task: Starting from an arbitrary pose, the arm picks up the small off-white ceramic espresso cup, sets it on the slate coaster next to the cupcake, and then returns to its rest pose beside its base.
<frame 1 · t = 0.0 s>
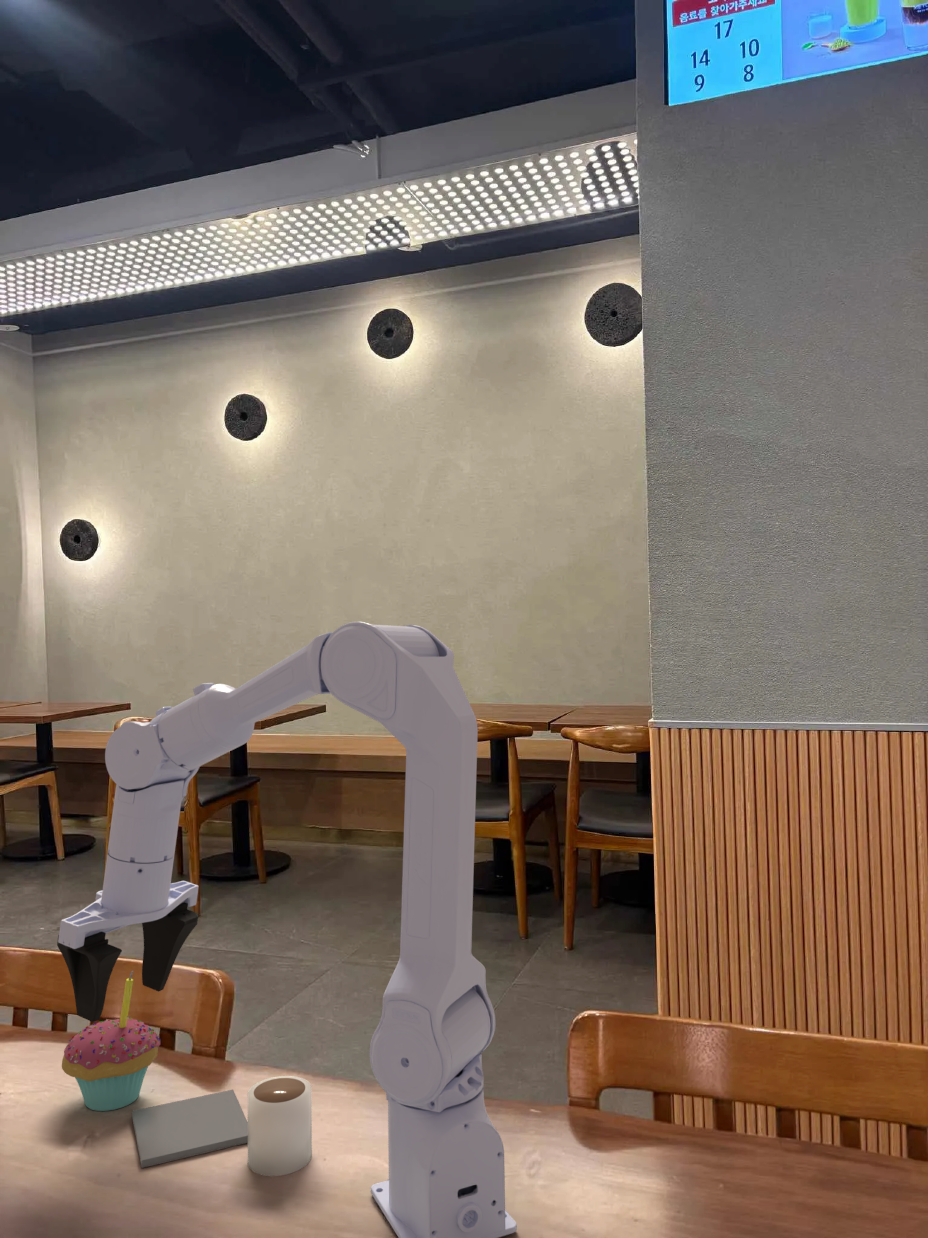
hand: (121, 1001, 81), 11 cm above the table, tool pointing down, fingers open, 7 cm apart
cupcake: (110, 1102, 84), on the table
cup: (280, 1158, 74), on the table
coaster: (190, 1129, 79), on the table
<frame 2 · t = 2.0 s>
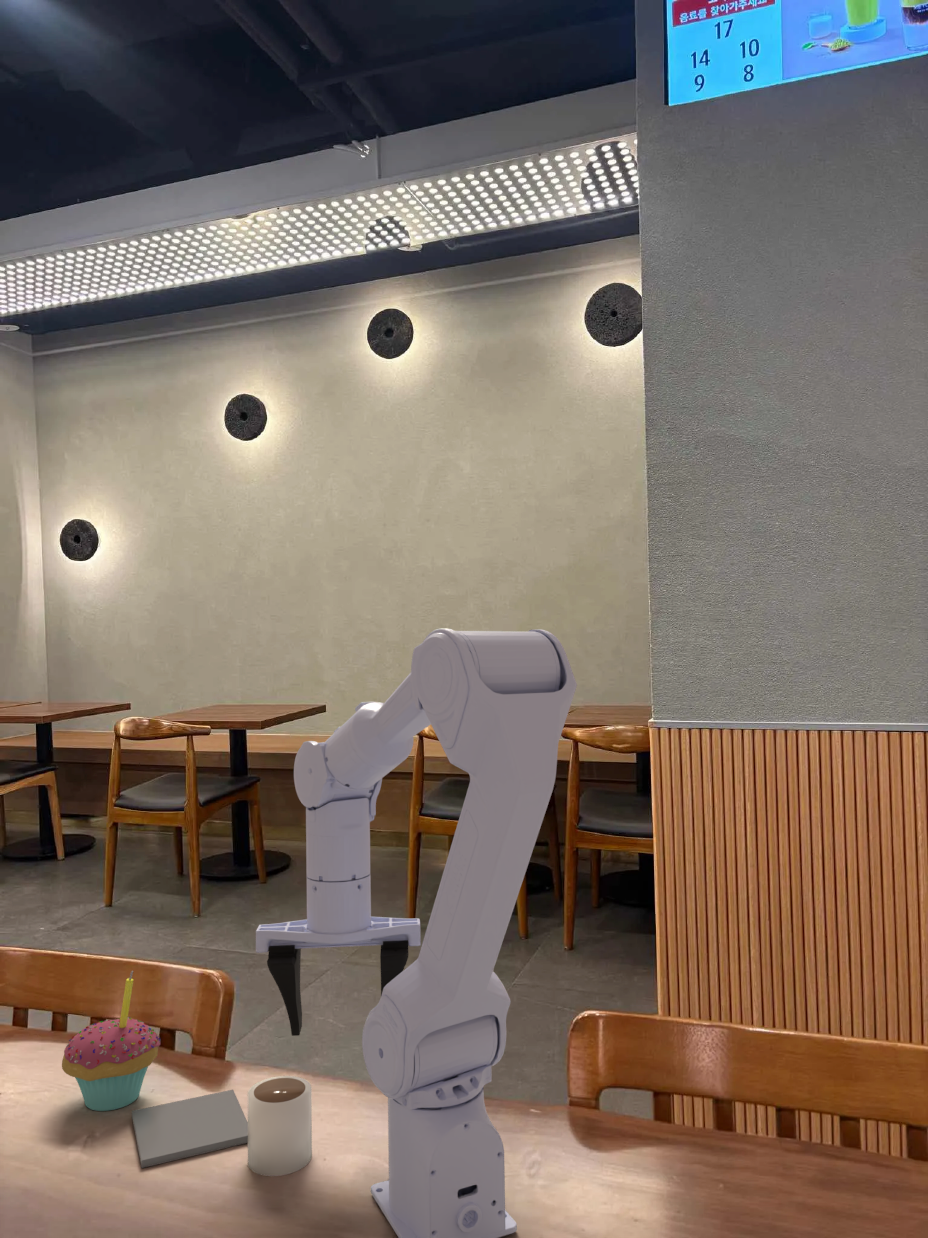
hand: (340, 1029, 80), 8 cm above the table, tool pointing down, fingers open, 7 cm apart
nothing on the table moved.
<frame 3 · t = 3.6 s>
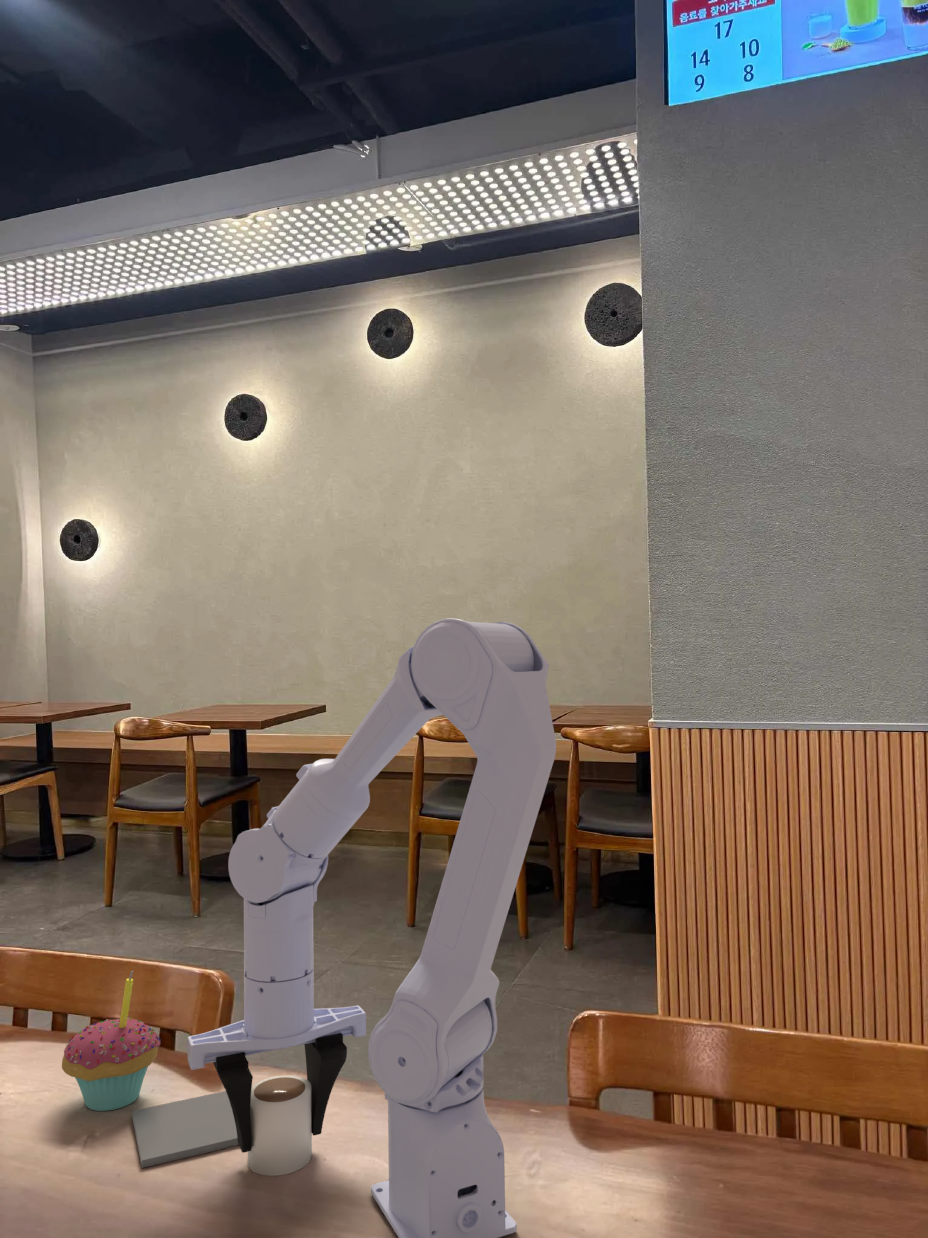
hand: (279, 1137, 74), 2 cm above the table, tool pointing down, fingers closed on cup, 5 cm apart
cup: (280, 1158, 74), on the table, touching gripper
everything else where it was.
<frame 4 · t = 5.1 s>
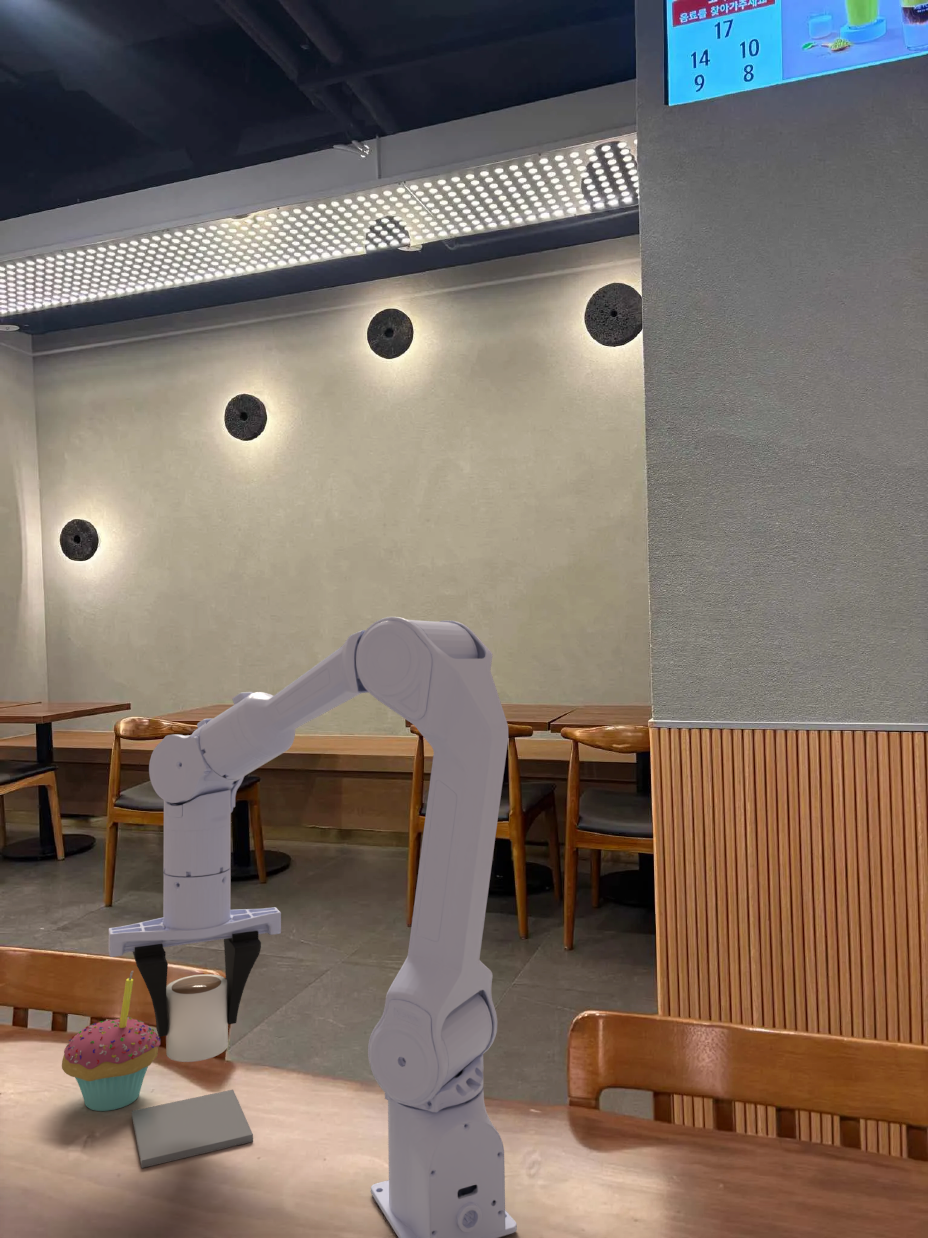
hand: (196, 1026, 79), 9 cm above the table, tool pointing down, fingers closed on cup, 5 cm apart
cup: (197, 1048, 79), point 7 cm above the table, touching gripper
everything else where it was.
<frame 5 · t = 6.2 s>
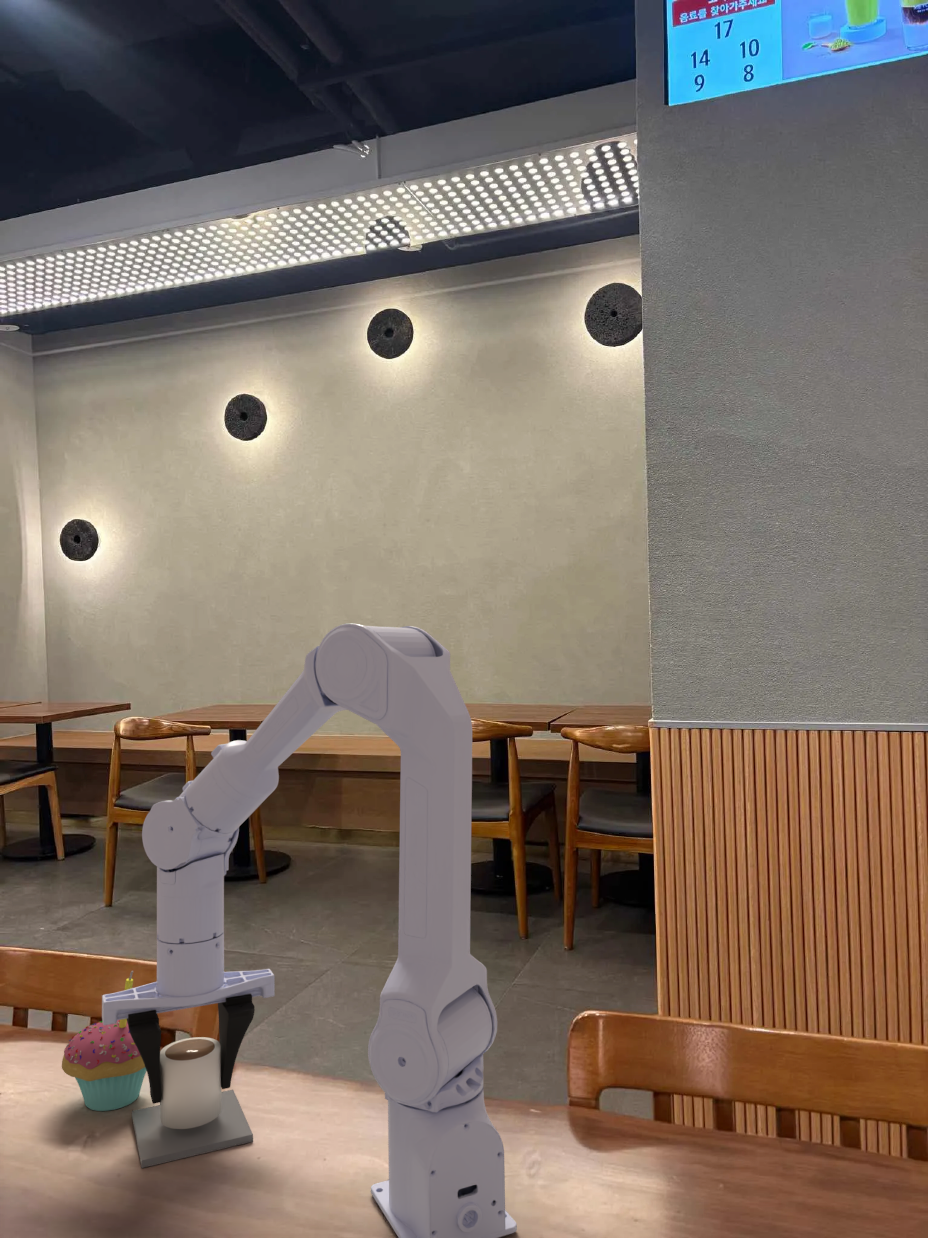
hand: (190, 1091, 79), 3 cm above the table, tool pointing down, fingers closed on cup, 5 cm apart
cup: (191, 1113, 79), point 1 cm above the table, touching gripper
everything else where it was.
when the fingers open (3 cm above the table, at t = 6.9 s): cup stays where it is, resting on coaster.
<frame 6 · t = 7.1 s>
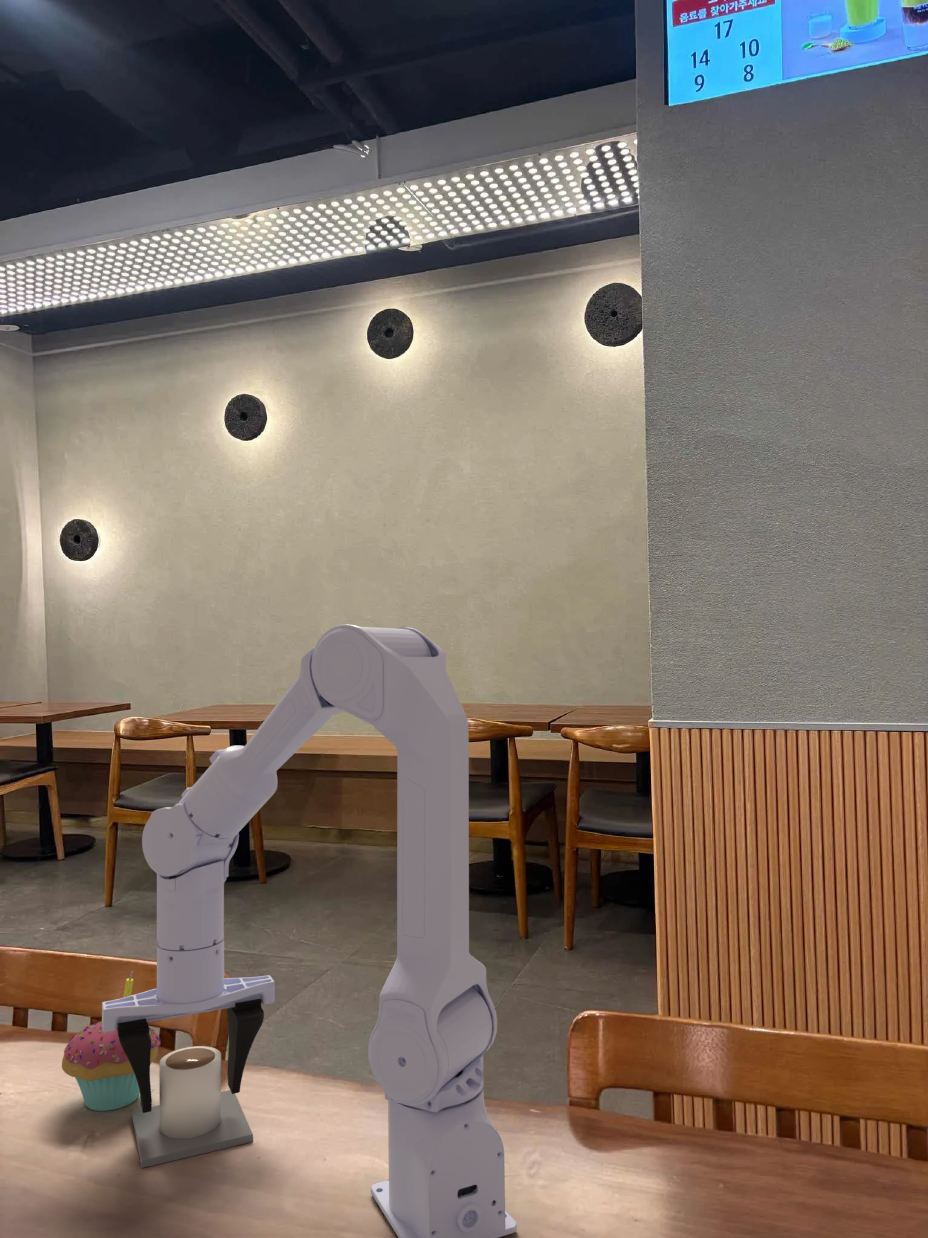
hand: (190, 1098, 79), 3 cm above the table, tool pointing down, fingers open, 7 cm apart
cup: (190, 1123, 79), point 1 cm above the table, touching coaster
everything else where it was.
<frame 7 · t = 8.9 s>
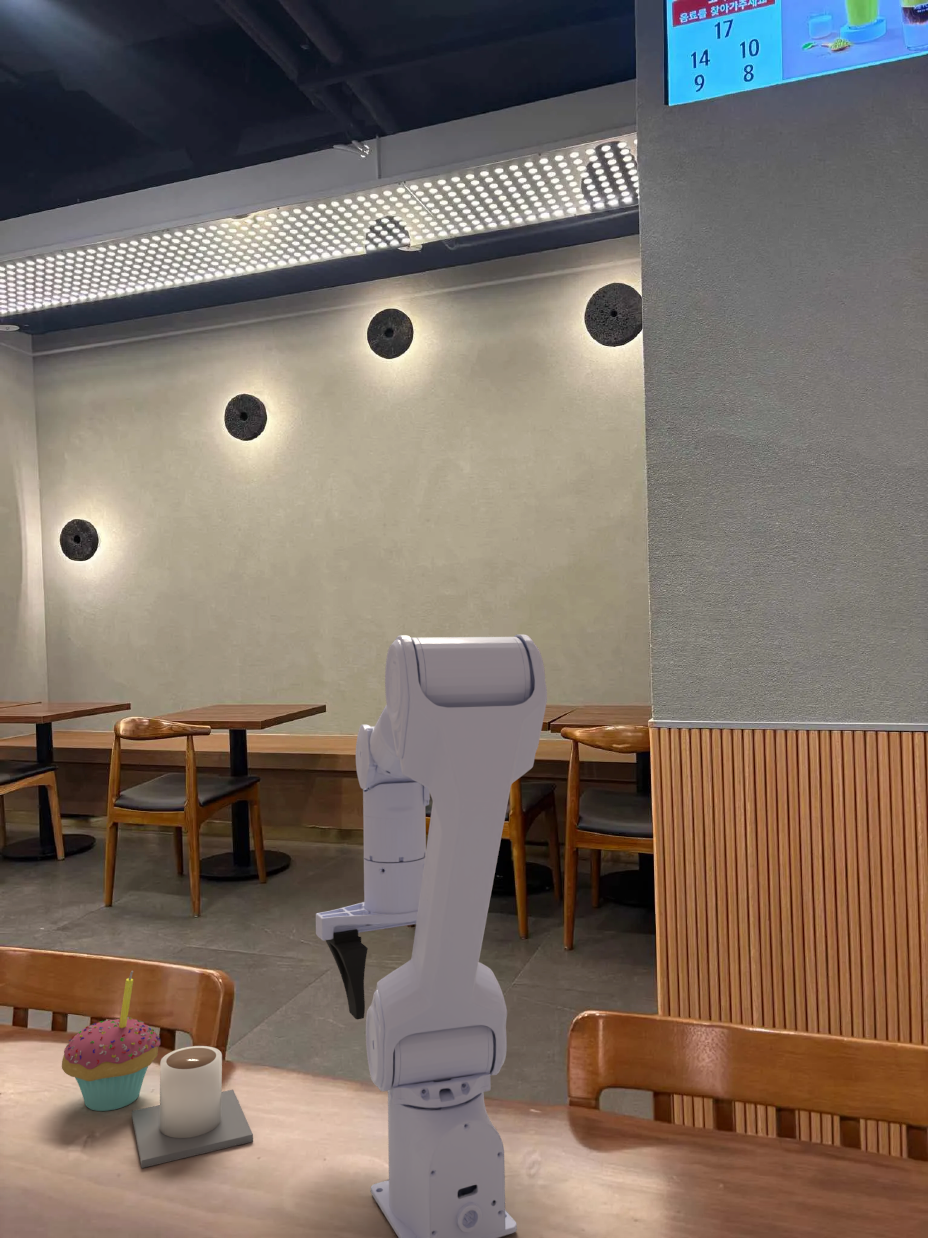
hand: (396, 1007, 82), 9 cm above the table, tool pointing down, fingers open, 7 cm apart
nothing on the table moved.
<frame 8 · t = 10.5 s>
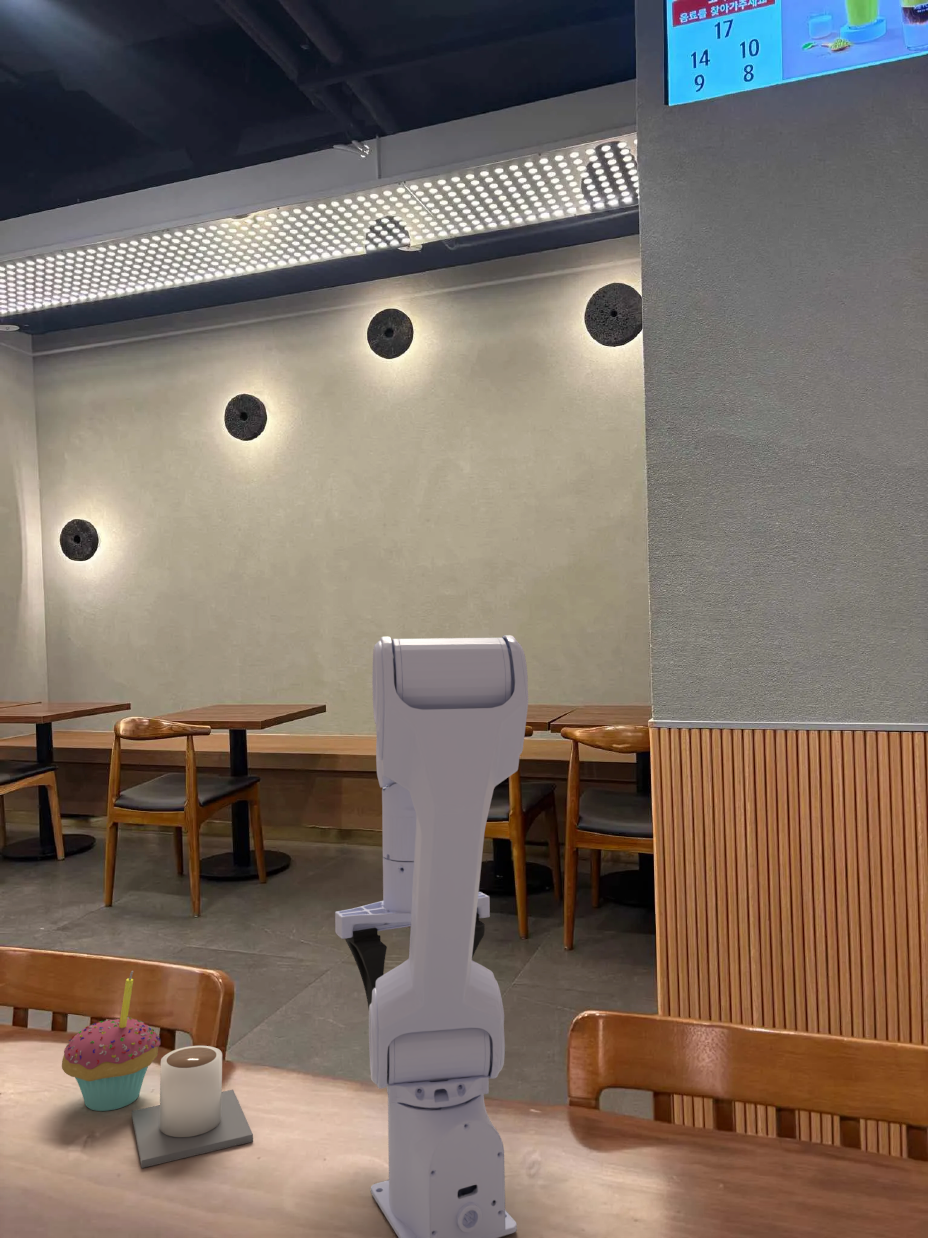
hand: (415, 1006, 82), 9 cm above the table, tool pointing down, fingers open, 7 cm apart
nothing on the table moved.
at the end: cup inside the target area on the coaster (0.1 cm from its centre), point 0.7 cm above the coaster's base; cup tilted 1°; the gripper is holding nothing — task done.
